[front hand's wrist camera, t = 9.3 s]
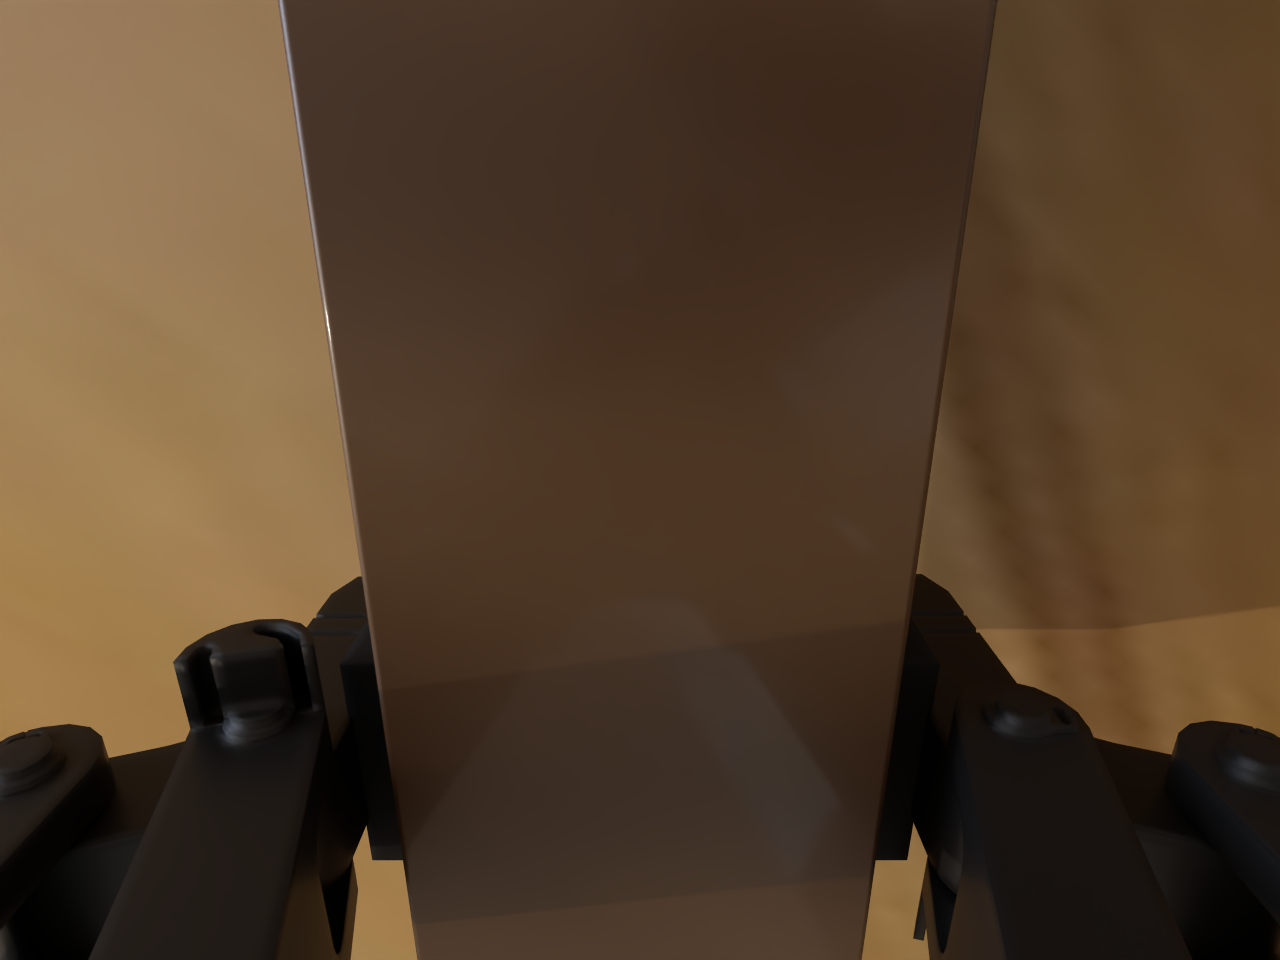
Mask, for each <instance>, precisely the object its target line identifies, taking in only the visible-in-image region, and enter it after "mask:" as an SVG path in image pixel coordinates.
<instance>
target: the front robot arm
mask: <svg viewBox="0 0 1280 960" xmlns="http://www.w3.org/2000/svg"><path fill="white" fill-rule="evenodd" d="M173 663H174V667H175V671H176V675H177V679H178V683H179V686H180V690H181V694H182V698H183V702H184V706H185V709H186V713H187V717H188V721H189V725H190V732H189V734H188V736H187V738H186V741H184V742H180V743H177V744H173V745H169V746H165V747H160V748H155V749H151V750H146V751H141V752H136V753H131V754H126V755H122V756H117V757H112V758H108V754H107V751H106V748H105V745H104V742H103V739H102V736H101V735H99V734H98V733H97V732H96V731H94V730H93V729H92V728H91V727H85V726H79V725H72V724H66V725H57V726H49V727H41V728H37V729H32V730H28V732H21V733H18V734H15V735H13V736H10V737H8V738H6V739H4V740H3V741H1V742H0V960H350V959H351V950H352V941H353V932H354V922H355V913H356V904H357V895H358V887H357V880H356V873H355V868H354V862H353V856H354V853H355V851H356V849H357V846H358V844H359V842H360V839H361V837H362V834H363V832H364V830H365V827H366V825H367V831H368V837H369V843H370V849H371V854H372V860H403V856H402V849H401V842H400V836H399V829H398V822H397V815H396V808H395V801H394V794H393V787H392V781H391V774H390V767H389V760H388V753H387V746H386V739H385V732H384V726H383V719H382V712H381V705H380V698H379V691H378V684H377V678H376V671H375V664H374V657H373V650H372V643H371V636H370V629H369V623H368V616H367V609H366V602H365V595H364V588H363V581H362V577H357V578H355V579H354V580H352V581H351V582H349V583H348V584H346V585H345V586H343V587H342V588H340V589H338V590H337V591H335V592H334V593H332V594H331V595H330V597H329V598H328V599H327V601H326V602H325V603H324V605H323V606H322V608H321V609H320V610H319V612H318V613H317V617H316V618H313V620H312V621H311V622H310V624H309V625H308V626H307V628H306V627H305V626H304V625H302V624H301V623H297V622H293V621H289V620H284V619H261V620H254V621H249V622H244V623H239V624H234V625H231V626H228V627H225V628H223V629H220V630H218V631H215V632H212V633H210V634H207V635H205V636H204V637H202V638H201V639H199V640H197V641H196V642H194V643H193V644H191V645H189V646H188V647H186V648H185V649H184V650H183V652H182V653H181V654H180V655H179V656H178V657H177V658H176V659H175V661H174V662H173ZM913 822H914V825H915V827H916V829H917V832H918V834H919V836H920V839H921V841H922V843H923V846H924V848H925V851H926V853H927V855H928V857H927V862H926V868H925V873H924V879H923V885H922V890H921V896H920V901H919V907H918V912H917V918H916V924H915V930H914V937H913V939H918V940H923V941H924V936H925V930H927V939H928V948H929V957H930V960H1280V738H1279V737H1277V736H1276V735H1274V734H1272V733H1270V732H1267V731H1264V730H1261V729H1258V728H1256V729H1255V728H1253V727H1251V726H1247V725H1242V724H1236V723H1228V722H1219V721H1205V722H1198V723H1192V724H1189V725H1188V726H1187V727H1185V728H1184V729H1183V730H1182V731H1180V732H1179V733H1178V736H1177V740H1176V743H1175V746H1174V749H1173V752H1172V755H1170V754H1165V753H1160V752H1155V751H1151V750H1146V749H1141V748H1136V747H1131V746H1126V745H1121V744H1117V743H1112V742H1108V741H1105V740H1101V739H1097V738H1094V737H1093V735H1092V733H1091V730H1090V728H1089V727H1088V725H1087V724H1086V723H1085V721H1084V720H1083V719H1082V717H1081V716H1080V715H1079V713H1078V712H1077V711H1075V710H1074V709H1072V708H1071V707H1070V706H1068V705H1067V704H1065V703H1064V702H1063V701H1061V700H1060V699H1059V698H1057V697H1054V696H1052V695H1050V694H1048V693H1045V692H1043V691H1041V690H1039V689H1036V688H1034V687H1030V686H1026V685H1021V684H1017V683H1016V681H1015V680H1014V679H1013V677H1012V676H1011V675H1010V673H1009V672H1008V671H1007V669H1006V668H1005V667H1004V665H1003V664H1002V663H1001V661H1000V660H999V659H998V657H997V656H996V655H995V653H994V652H993V651H992V649H991V648H990V647H989V645H988V644H987V643H986V641H985V640H984V638H983V637H982V636H981V634H980V633H976V628H975V626H974V625H973V624H972V622H971V621H970V620H969V618H968V617H967V616H964V614H963V610H962V609H961V608H960V606H959V605H958V604H957V602H956V601H955V600H954V598H953V597H952V596H951V594H950V593H949V592H948V591H947V590H945V589H944V588H942V587H941V586H939V585H938V584H936V583H935V582H933V581H932V580H930V579H928V578H927V577H925V576H924V575H922V574H916V578H915V585H914V592H913V599H912V606H911V613H910V620H909V627H908V635H907V642H906V649H905V656H904V663H903V670H902V677H901V684H900V691H899V698H898V705H897V712H896V719H895V726H894V733H893V741H892V748H891V755H890V762H889V769H888V776H887V783H886V790H885V797H884V804H883V811H882V818H881V825H880V832H879V840H878V847H877V854H876V860H907V858H908V852H909V846H910V840H911V834H912V828H913Z"/></svg>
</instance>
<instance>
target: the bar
mask: <svg viewBox="0 0 1280 960" xmlns="http://www.w3.org/2000/svg"><path fill="white" fill-rule="evenodd" d="M278 4H279V11H280V18H281V25H282V32H283V38H284V45H285V52H286V59H287V66H288V73H289V80H290V87H291V93H292V100H293V107H294V114H295V121H296V128H297V135H298V142H299V148H300V155H301V162H302V169H303V176H304V183H305V190H306V197H307V203H308V210H309V217H310V224H311V231H312V238H313V245H314V251H315V258H316V265H317V272H318V279H319V286H320V293H321V300H322V306H323V313H324V320H325V327H326V334H327V341H328V348H329V355H330V361H331V368H332V375H333V382H334V389H335V396H336V403H337V410H338V416H339V423H340V430H341V437H342V444H343V451H344V458H345V465H346V471H347V478H348V485H349V492H350V499H351V506H352V513H353V519H354V526H355V533H356V540H357V547H358V554H359V561H360V568H361V574H362V581H363V588H364V595H365V602H366V609H367V616H368V623H369V629H370V636H371V643H372V650H373V657H374V664H375V671H376V678H377V684H378V691H379V698H380V705H381V712H382V719H383V726H384V732H385V739H386V746H387V753H388V760H389V767H390V774H391V781H392V787H393V794H394V801H395V808H396V815H397V822H398V829H399V836H400V842H401V849H402V856H403V863H404V870H405V877H406V884H407V891H408V897H409V904H410V911H411V918H412V925H413V932H414V939H415V946H416V952H417V959H418V960H862V953H863V946H864V938H865V931H866V924H867V917H868V910H869V903H870V896H871V889H872V882H873V875H874V868H875V861H876V854H877V847H878V840H879V832H880V825H881V818H882V811H883V804H884V797H885V790H886V783H887V776H888V769H889V762H890V755H891V748H892V741H893V733H894V726H895V719H896V712H897V705H898V698H899V691H900V684H901V677H902V670H903V663H904V656H905V649H906V642H907V635H908V627H909V620H910V613H911V606H912V599H913V592H914V585H915V578H916V571H917V564H918V557H919V550H920V543H921V536H922V528H923V521H924V514H925V507H926V500H927V493H928V486H929V479H930V472H931V465H932V458H933V451H934V444H935V437H936V430H937V422H938V415H939V408H940V401H941V394H942V387H943V380H944V373H945V366H946V359H947V352H948V345H949V338H950V331H951V324H952V316H953V309H954V302H955V295H956V288H957V281H958V274H959V267H960V260H961V253H962V246H963V239H964V232H965V225H966V217H967V210H968V203H969V196H970V189H971V182H972V175H973V168H974V161H975V154H976V147H977V140H978V133H979V126H980V119H981V111H982V104H983V97H984V90H985V83H986V76H987V69H988V62H989V55H990V48H991V41H992V34H993V27H994V20H995V12H996V5H997V0H278Z"/></svg>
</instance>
